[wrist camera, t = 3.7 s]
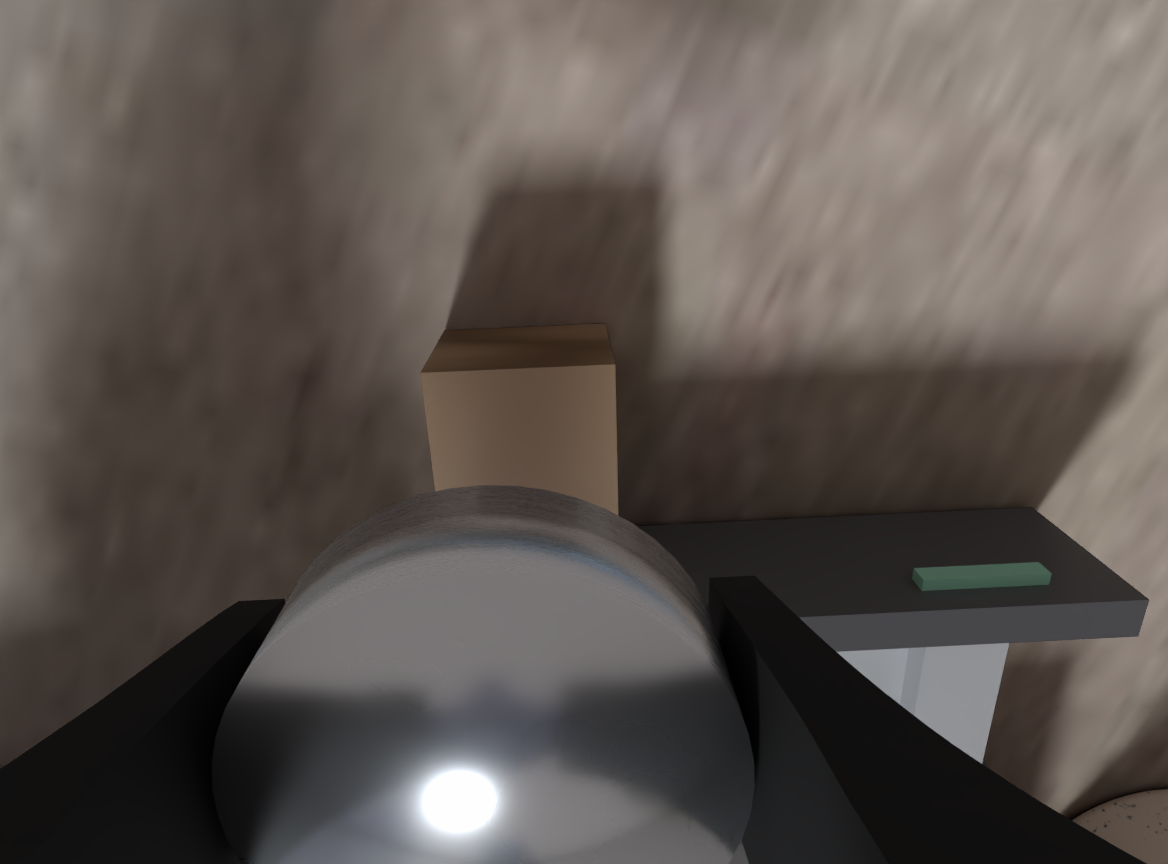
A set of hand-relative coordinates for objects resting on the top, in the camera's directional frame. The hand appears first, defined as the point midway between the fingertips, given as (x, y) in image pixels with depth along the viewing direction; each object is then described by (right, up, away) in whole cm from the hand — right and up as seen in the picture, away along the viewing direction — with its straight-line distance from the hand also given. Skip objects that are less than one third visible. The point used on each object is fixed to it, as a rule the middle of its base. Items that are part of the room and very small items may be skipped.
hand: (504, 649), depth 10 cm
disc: (0, 0, -1) cm, 1 cm away
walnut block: (0, +4, +9) cm, 10 cm away
